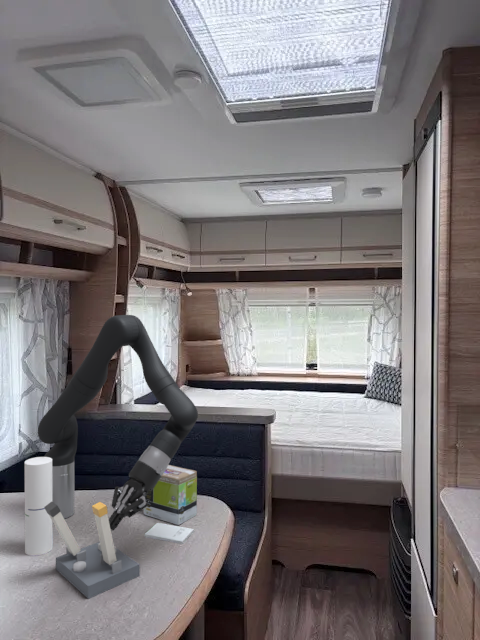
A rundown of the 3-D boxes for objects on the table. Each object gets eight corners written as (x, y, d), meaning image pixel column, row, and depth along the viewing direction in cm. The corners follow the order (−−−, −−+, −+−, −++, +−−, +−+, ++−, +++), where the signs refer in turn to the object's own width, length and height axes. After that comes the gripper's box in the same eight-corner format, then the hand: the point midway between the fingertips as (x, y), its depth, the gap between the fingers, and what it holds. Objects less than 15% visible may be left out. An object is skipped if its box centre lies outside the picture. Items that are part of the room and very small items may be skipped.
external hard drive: (157, 527, 152) (194, 533, 148) (144, 539, 144) (182, 546, 140) (157, 521, 152) (194, 528, 148) (144, 533, 144) (182, 540, 140)
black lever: (69, 554, 128) (43, 506, 122) (76, 548, 129) (50, 500, 124) (77, 561, 125) (50, 511, 119) (84, 554, 126) (58, 505, 121)
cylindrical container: (42, 557, 132) (42, 466, 131) (19, 554, 134) (18, 463, 133) (57, 544, 139) (57, 457, 138) (35, 541, 141) (34, 456, 140)
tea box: (197, 515, 160) (198, 470, 159) (178, 526, 151) (178, 479, 151) (162, 504, 168) (163, 462, 167) (142, 515, 159) (142, 470, 159)
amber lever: (102, 564, 123) (90, 505, 120) (110, 559, 124) (98, 501, 122) (111, 570, 120) (99, 510, 117) (119, 566, 121) (107, 506, 118)
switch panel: (55, 569, 126) (55, 548, 126) (104, 550, 136) (104, 531, 136) (88, 598, 114) (88, 576, 114) (139, 575, 124) (139, 554, 123)
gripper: (127, 454, 132) (86, 512, 124) (156, 465, 123) (113, 529, 115) (144, 469, 136) (105, 526, 128) (173, 481, 127) (133, 544, 119)
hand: (109, 528), depth 121 cm, fingers closed
